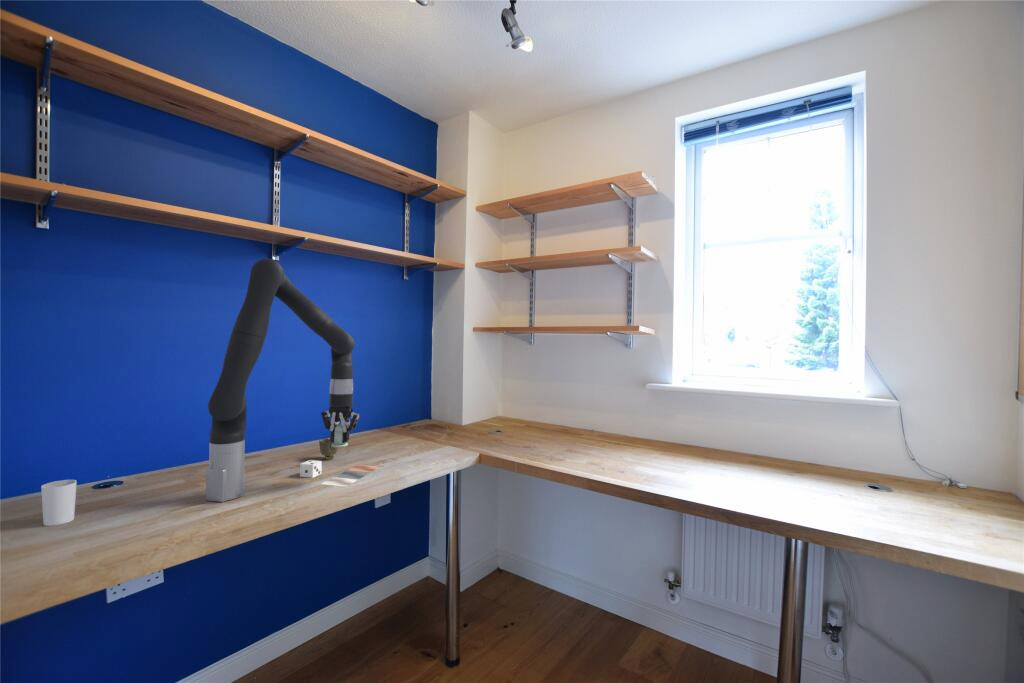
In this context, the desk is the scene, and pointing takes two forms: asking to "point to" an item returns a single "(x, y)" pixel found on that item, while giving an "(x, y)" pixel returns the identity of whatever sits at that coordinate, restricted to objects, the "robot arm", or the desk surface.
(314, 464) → the die
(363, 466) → the game strip
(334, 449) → the cup
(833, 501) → the desk surface
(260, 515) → the desk surface
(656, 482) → the desk surface
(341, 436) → the pawn
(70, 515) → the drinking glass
